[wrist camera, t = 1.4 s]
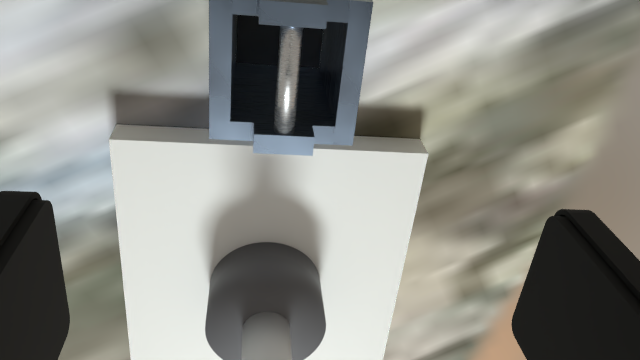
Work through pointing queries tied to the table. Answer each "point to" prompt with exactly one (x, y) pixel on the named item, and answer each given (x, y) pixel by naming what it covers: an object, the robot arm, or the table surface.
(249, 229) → the shaft mount
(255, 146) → the coupler
